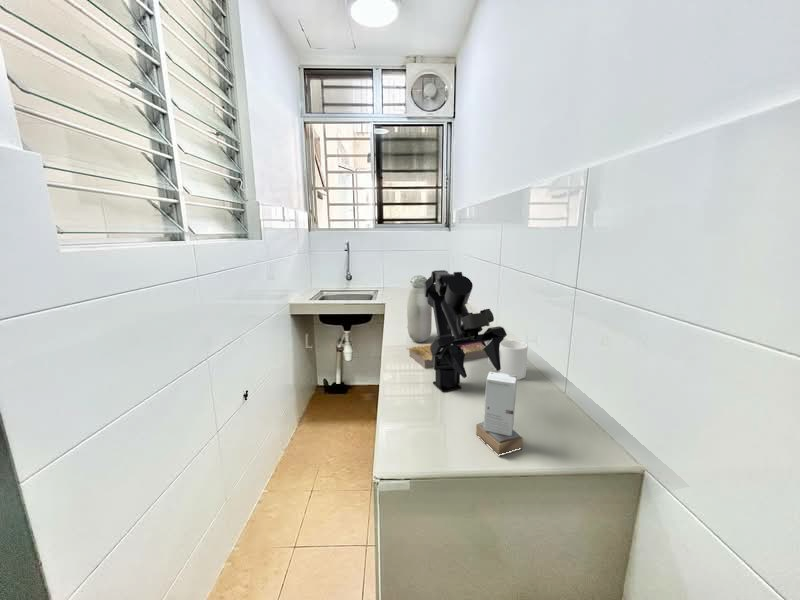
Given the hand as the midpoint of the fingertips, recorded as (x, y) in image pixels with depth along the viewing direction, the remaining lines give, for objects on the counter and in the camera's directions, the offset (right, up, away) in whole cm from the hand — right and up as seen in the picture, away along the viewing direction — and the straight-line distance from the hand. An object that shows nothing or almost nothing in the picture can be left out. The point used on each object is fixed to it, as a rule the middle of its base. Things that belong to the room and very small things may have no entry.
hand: (482, 373), depth 76 cm
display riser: (+3, -14, -3) cm, 15 cm away
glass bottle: (-11, -1, +64) cm, 65 cm away
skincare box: (+3, -11, -3) cm, 12 cm away
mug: (+15, -7, +30) cm, 34 cm away
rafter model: (+2, -4, +49) cm, 49 cm away
